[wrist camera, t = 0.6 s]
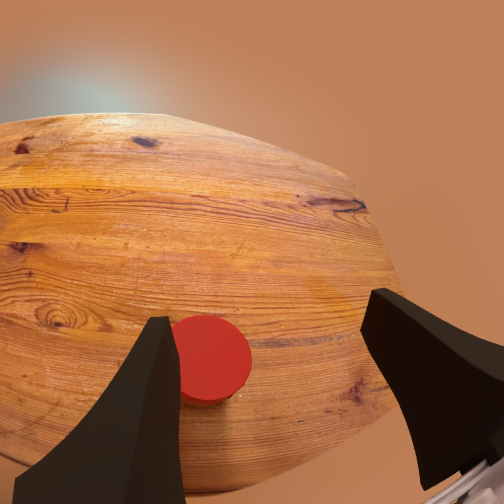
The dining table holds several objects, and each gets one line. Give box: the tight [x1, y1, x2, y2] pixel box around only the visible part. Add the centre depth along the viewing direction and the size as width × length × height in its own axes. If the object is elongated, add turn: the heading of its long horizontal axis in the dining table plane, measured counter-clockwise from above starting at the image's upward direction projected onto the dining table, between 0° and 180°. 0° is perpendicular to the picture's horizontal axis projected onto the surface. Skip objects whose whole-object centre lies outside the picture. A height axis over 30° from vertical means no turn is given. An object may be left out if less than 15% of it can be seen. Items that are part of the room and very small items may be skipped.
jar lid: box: [172, 315, 252, 404], centre depth 17 cm, size 6×6×2 cm
